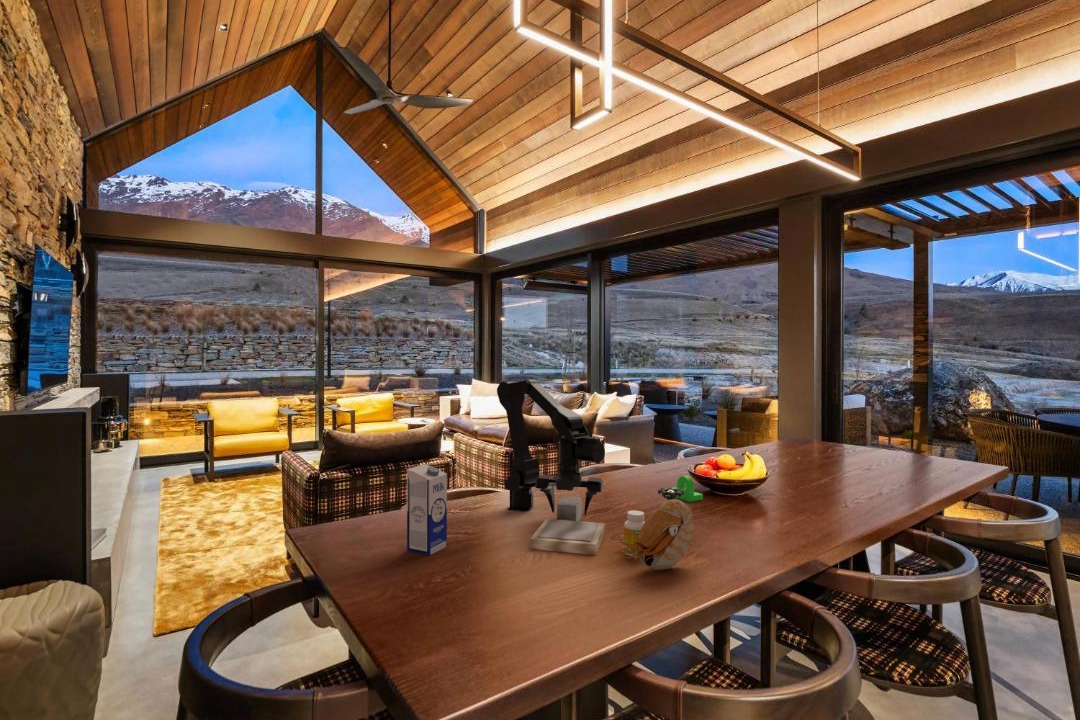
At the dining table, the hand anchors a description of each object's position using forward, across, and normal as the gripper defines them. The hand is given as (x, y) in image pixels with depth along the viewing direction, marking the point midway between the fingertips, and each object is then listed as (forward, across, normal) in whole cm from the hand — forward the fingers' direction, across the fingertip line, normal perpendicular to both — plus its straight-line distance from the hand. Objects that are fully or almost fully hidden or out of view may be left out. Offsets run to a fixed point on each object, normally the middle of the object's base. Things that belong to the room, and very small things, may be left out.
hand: (569, 513), depth 154 cm
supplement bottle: (+2, +20, -21) cm, 29 cm away
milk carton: (+2, -29, -31) cm, 43 cm away
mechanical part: (+3, +32, +36) cm, 48 cm away
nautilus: (+2, +25, -31) cm, 40 cm away
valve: (+2, +28, -6) cm, 29 cm away
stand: (+2, +3, -16) cm, 16 cm away
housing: (+2, 0, 0) cm, 2 cm away
